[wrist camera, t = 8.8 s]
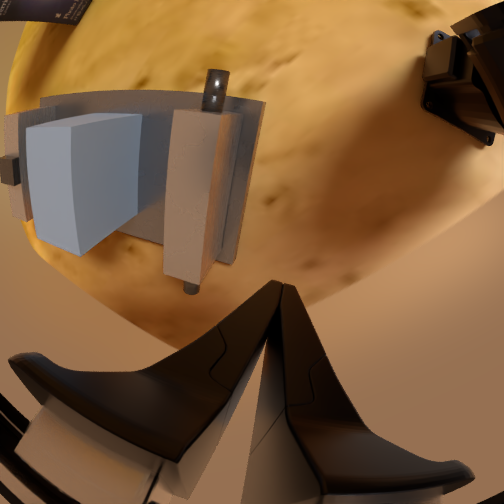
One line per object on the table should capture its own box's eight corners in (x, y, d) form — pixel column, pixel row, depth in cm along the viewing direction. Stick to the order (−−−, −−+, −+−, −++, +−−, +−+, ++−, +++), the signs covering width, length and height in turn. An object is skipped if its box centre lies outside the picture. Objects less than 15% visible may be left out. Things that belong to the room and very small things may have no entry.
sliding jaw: (251, 78, 14) (230, 67, 10) (217, 276, 22) (197, 312, 18) (212, 73, 14) (181, 64, 11) (188, 267, 22) (163, 301, 18)
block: (142, 114, 17) (71, 126, 11) (137, 214, 21) (80, 256, 15) (94, 113, 17) (26, 127, 11) (93, 202, 21) (37, 238, 15)
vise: (265, 102, 16) (241, 97, 10) (235, 258, 22) (209, 309, 16) (47, 96, 18) (-2, 106, 12) (50, 204, 24) (9, 228, 18)
